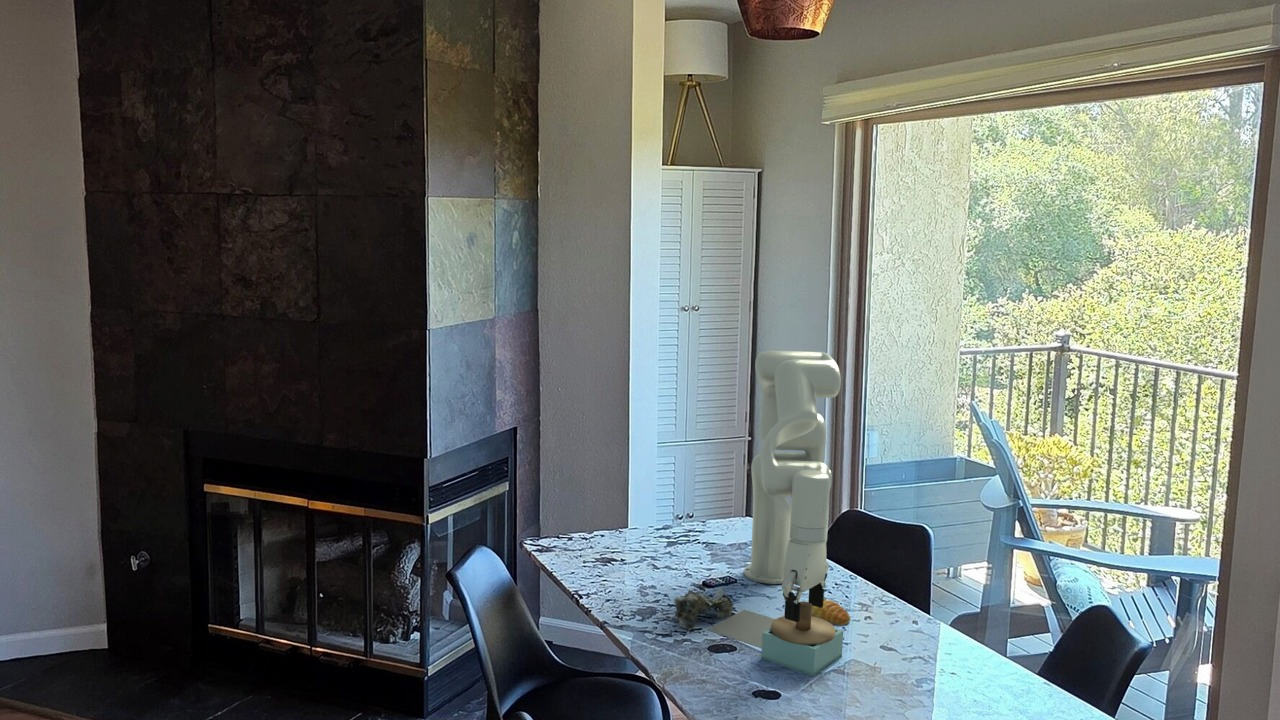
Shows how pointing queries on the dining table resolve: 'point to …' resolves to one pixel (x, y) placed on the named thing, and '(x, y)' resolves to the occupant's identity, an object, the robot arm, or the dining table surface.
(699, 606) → the mottled brown rock
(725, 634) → the mat
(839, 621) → the pastry
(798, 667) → the green square box
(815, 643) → the lid
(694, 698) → the dining table surface
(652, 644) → the dining table surface
